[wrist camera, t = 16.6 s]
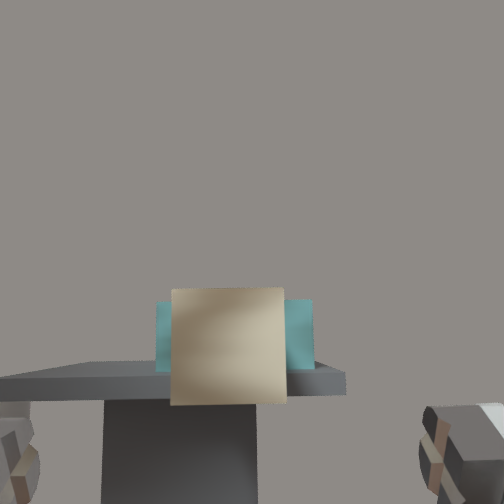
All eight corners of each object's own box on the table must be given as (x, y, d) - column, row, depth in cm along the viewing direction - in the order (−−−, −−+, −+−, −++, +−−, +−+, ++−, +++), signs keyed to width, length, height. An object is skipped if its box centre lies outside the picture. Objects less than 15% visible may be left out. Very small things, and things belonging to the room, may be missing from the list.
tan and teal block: (72, 407, 12) (78, 271, 13) (176, 362, 32) (177, 310, 33) (383, 401, 13) (374, 267, 13) (296, 360, 32) (295, 308, 33)
